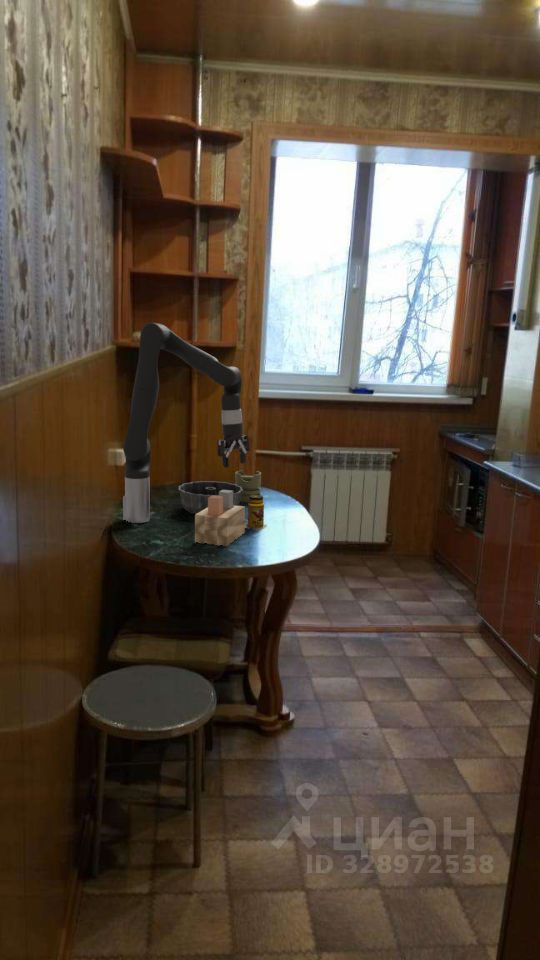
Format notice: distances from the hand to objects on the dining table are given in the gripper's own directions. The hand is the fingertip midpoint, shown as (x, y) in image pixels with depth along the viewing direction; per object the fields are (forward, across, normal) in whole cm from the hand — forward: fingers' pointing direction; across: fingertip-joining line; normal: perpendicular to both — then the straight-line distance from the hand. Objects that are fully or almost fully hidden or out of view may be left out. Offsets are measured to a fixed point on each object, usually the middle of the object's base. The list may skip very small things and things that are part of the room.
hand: (234, 465), depth 263 cm
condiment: (+25, -6, +2) cm, 26 cm away
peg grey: (+16, +9, +3) cm, 18 cm away
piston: (+24, -36, -31) cm, 53 cm away
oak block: (+24, +14, +5) cm, 28 cm away
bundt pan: (+24, -10, -26) cm, 36 cm away
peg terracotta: (+16, +18, +7) cm, 25 cm away
